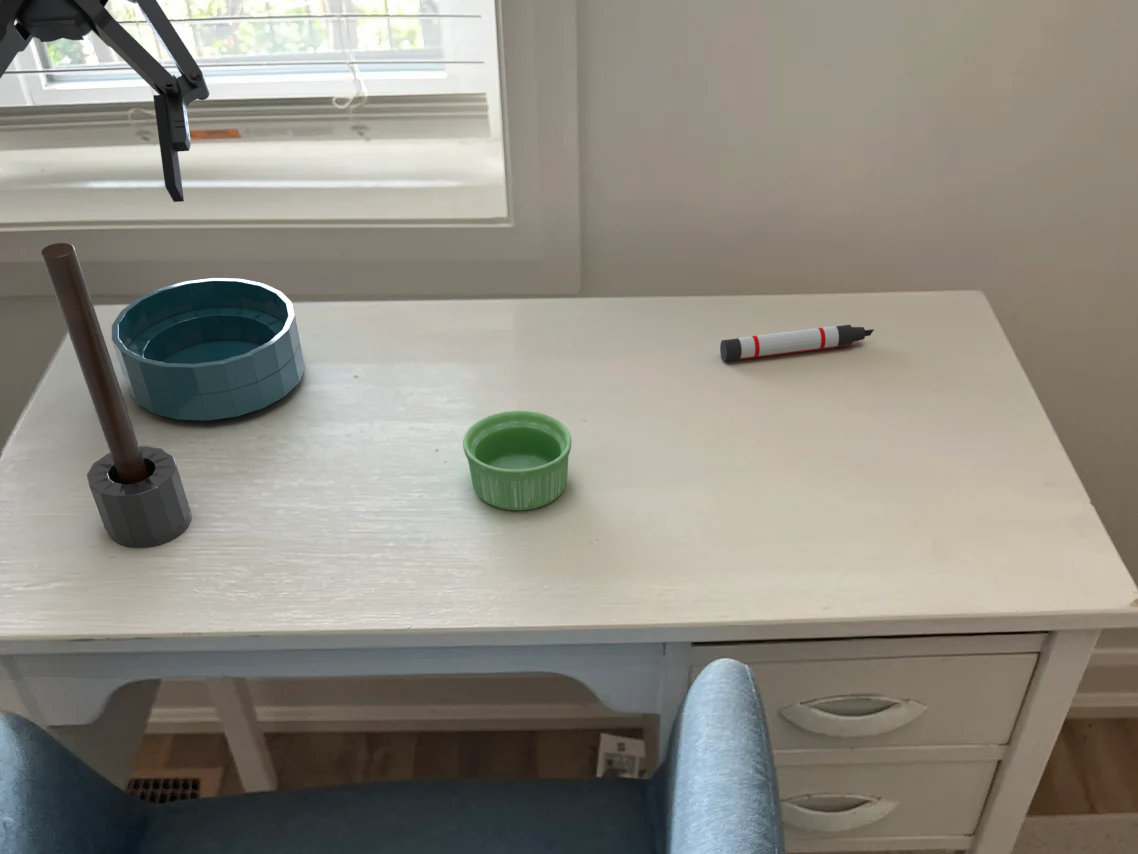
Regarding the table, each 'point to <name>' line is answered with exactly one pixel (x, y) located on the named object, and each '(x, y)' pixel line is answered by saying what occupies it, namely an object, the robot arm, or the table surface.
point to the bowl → (209, 348)
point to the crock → (141, 500)
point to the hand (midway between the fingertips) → (81, 201)
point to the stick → (94, 360)
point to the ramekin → (518, 459)
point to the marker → (791, 342)
